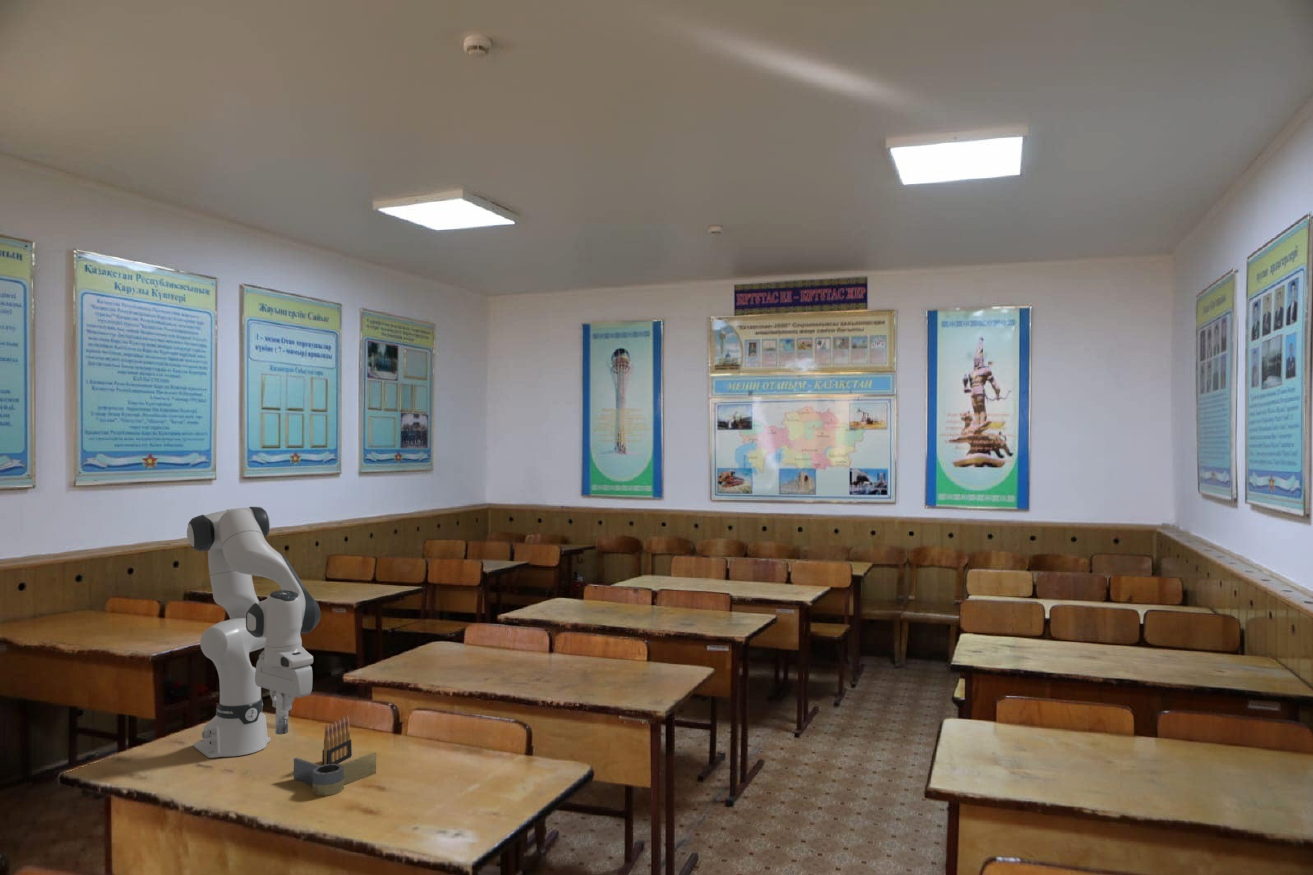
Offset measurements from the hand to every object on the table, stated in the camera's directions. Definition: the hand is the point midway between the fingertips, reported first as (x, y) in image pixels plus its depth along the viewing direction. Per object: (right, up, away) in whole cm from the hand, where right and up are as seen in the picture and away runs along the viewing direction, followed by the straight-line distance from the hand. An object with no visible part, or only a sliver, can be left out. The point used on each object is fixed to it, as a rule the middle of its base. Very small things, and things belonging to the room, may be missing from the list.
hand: (282, 708), depth 221 cm
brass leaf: (+14, -22, +6) cm, 27 cm away
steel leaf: (+7, -22, +4) cm, 23 cm away
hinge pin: (0, -6, 0) cm, 6 cm away
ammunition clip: (+6, -23, +22) cm, 32 cm away
